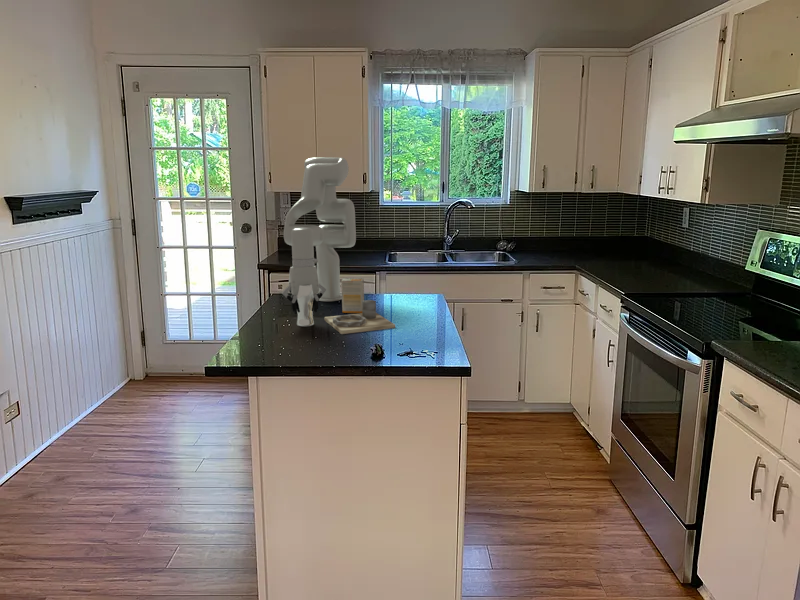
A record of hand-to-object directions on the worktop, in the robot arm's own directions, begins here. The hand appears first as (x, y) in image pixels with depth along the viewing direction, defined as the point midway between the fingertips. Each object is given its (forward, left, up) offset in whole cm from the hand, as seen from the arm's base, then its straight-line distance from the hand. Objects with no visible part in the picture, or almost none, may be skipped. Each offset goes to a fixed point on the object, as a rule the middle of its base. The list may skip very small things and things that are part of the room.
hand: (305, 311), depth 212 cm
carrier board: (+7, +18, -5) cm, 20 cm away
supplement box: (-11, +22, -5) cm, 25 cm away
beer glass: (0, 0, -5) cm, 5 cm away
